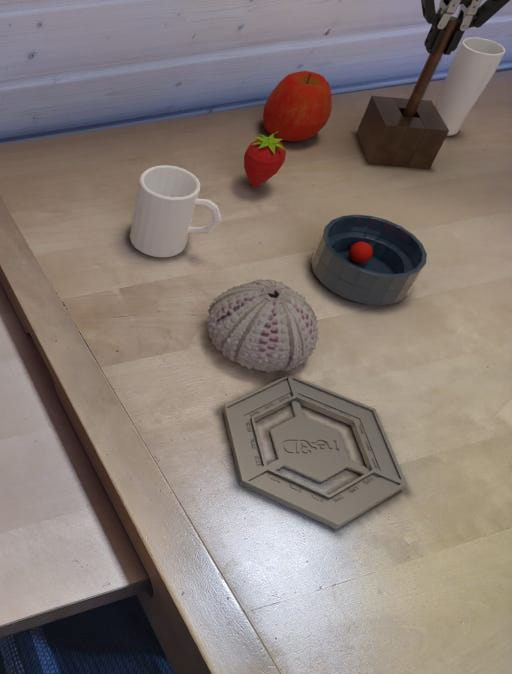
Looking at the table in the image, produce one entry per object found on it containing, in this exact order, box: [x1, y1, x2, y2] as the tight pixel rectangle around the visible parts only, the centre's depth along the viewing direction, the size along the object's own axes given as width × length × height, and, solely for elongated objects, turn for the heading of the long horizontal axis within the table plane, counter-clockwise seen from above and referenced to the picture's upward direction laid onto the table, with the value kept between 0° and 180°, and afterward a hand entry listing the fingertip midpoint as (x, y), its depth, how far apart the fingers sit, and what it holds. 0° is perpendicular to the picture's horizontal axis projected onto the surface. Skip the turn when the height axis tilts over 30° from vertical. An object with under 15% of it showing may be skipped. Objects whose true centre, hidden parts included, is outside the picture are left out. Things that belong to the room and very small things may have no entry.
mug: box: [129, 164, 223, 258], centre depth 98 cm, size 8×12×10 cm
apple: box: [262, 70, 333, 143], centre depth 121 cm, size 11×11×11 cm
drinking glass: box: [434, 36, 506, 137], centre depth 122 cm, size 7×7×15 cm
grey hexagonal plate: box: [222, 373, 408, 530], centre depth 78 cm, size 17×20×1 cm
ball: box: [349, 242, 373, 264], centre depth 99 cm, size 3×3×3 cm
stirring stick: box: [402, 15, 459, 117], centre depth 114 cm, size 2×2×22 cm
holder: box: [355, 95, 449, 170], centre depth 119 cm, size 10×10×7 cm
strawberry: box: [243, 131, 287, 188], centre depth 109 cm, size 6×8×10 cm
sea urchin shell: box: [206, 278, 320, 373], centre depth 86 cm, size 13×14×8 cm
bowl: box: [310, 214, 428, 306], centre depth 97 cm, size 13×13×6 cm
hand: (437, 51), depth 109 cm, fingers closed on stirring stick, 2 cm apart
